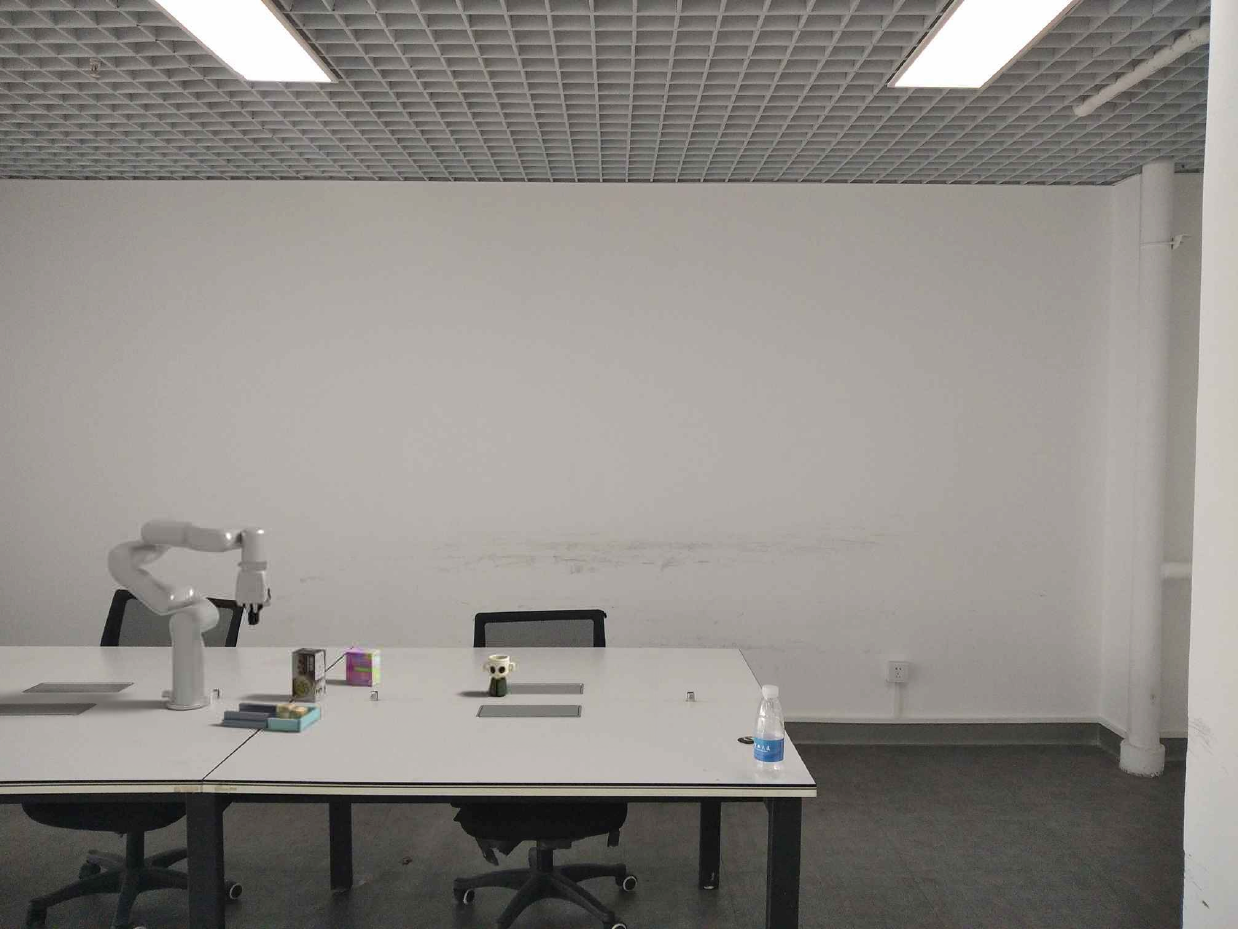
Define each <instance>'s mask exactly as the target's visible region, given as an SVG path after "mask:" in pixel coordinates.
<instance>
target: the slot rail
mask: <svg viewBox="0 0 1238 929" xmlns="http://www.w3.org/2000/svg"><path fill="white" fill-rule="evenodd" d="M277 705H278V704H271V703H256V702H255V703H254V702H240V703H238V710H225V711H224V712H223V719H222V720H221V724H222V725H221V727H226V728H227V727H230V728H244V729H261V730H268V718H276V710H277Z"/></svg>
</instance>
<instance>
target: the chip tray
mask: <svg viewBox="0 0 1238 929" xmlns="http://www.w3.org/2000/svg"><path fill="white" fill-rule="evenodd" d="M295 706H298V707H305V708H308V710H307V715H305V716H304V717H302V718H300V719H299V720H295V719H279V718H268V728H267V731H271V732H273V731H274V732H276V731H277V732H290V733H302V732H303V731H304V730H305V729H307V728H309V727H310V726H312V725H313V724H314V723H316V722H317V721H319V720H320V719H322V718H321V717H322V713H321V712H322V707H321V706H310V705H308V706H307V705H295Z"/></svg>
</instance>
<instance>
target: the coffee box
mask: <svg viewBox="0 0 1238 929" xmlns="http://www.w3.org/2000/svg"><path fill="white" fill-rule="evenodd" d="M326 651H327V649H323V648H322V649H320V648H312V647H311V648H309V647H301V648H299V649H296V650H294V651H292V652H291V662H292V663H291V681H292V682H291V683H292V684H291V700H292V701H302V702H313V703H316V702H319V701H320V700H323V699H325V698H326V697H327V696H326V686H327V685H326V678H327V676H326V675H327V674H326V669H327V668H326V664H327V662H326V660H327V659H326V657H327V656H326V655H327V654H326V653H327V652H326Z"/></svg>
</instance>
